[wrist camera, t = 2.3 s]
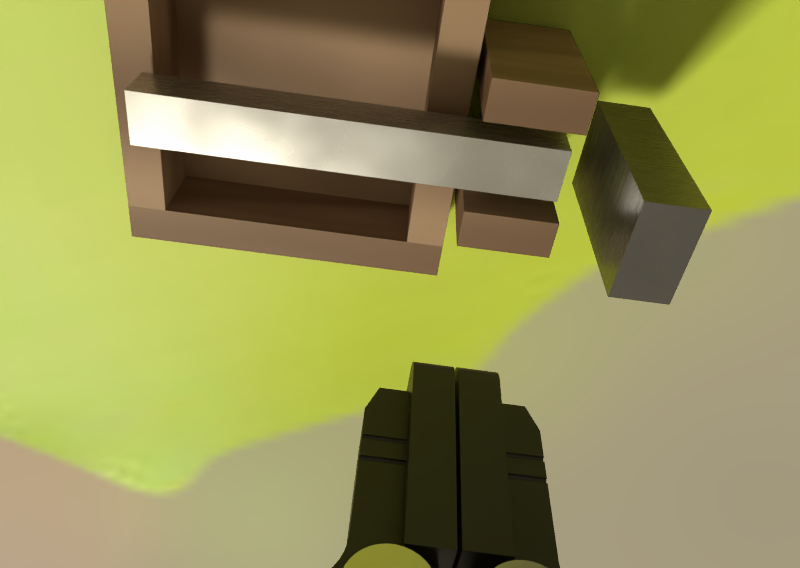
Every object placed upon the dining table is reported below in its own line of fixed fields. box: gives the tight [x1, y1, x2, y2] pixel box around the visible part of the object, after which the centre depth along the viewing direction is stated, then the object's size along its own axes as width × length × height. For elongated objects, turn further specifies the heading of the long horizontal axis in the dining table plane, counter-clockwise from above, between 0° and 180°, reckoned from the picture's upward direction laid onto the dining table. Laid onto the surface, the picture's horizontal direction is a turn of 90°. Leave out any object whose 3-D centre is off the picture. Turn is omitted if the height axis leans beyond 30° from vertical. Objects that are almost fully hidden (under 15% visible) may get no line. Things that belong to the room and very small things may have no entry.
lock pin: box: [124, 72, 712, 304], centre depth 19 cm, size 3×15×6 cm, turn 83°
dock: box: [104, 0, 599, 275], centre depth 22 cm, size 10×13×5 cm
